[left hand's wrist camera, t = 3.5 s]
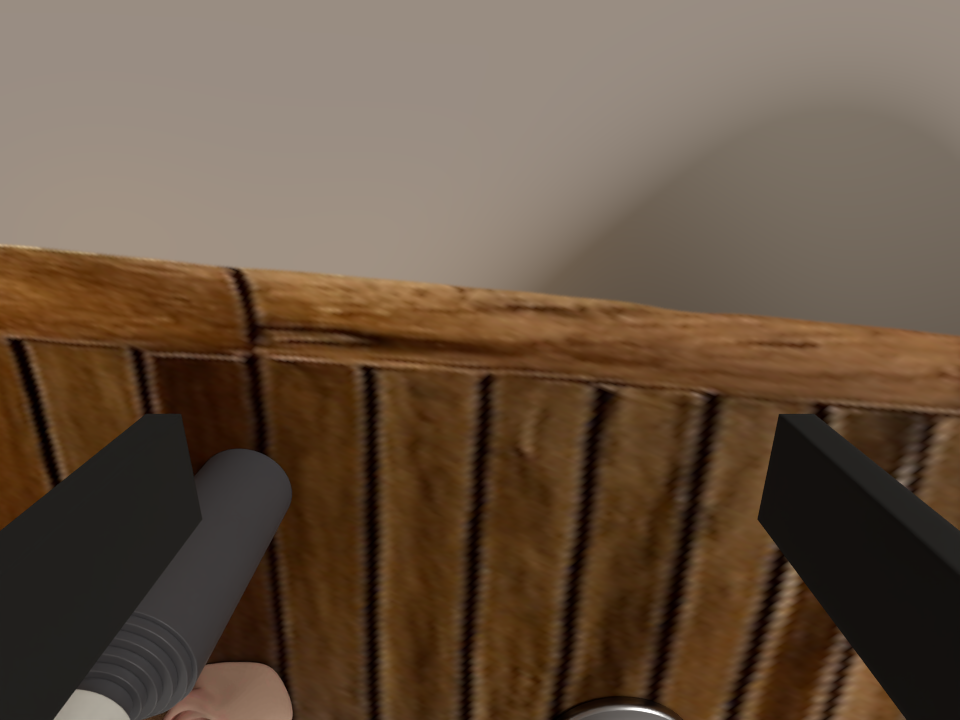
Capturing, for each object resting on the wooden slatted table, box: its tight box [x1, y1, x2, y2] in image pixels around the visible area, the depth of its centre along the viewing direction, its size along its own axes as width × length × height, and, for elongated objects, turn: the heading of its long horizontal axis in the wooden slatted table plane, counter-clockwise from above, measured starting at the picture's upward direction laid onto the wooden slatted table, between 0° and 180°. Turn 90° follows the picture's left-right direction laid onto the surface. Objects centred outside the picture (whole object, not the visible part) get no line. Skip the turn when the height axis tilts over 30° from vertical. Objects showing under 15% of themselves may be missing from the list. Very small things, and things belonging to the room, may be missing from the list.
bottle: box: [77, 449, 292, 720], centre depth 36 cm, size 7×7×22 cm
